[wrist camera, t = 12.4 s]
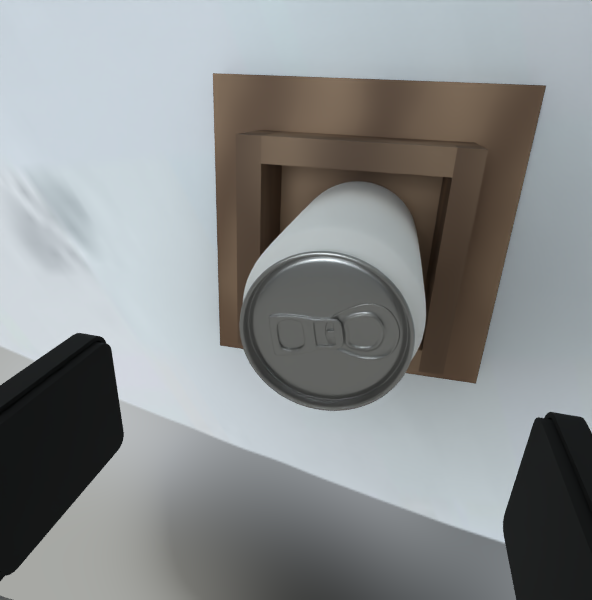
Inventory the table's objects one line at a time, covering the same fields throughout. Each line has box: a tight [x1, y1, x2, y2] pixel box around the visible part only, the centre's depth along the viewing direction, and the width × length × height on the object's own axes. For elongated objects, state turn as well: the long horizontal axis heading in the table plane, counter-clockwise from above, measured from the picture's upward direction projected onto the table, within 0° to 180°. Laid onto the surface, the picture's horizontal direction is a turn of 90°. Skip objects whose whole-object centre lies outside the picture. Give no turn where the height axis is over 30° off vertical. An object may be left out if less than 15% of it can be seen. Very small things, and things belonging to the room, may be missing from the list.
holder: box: [213, 73, 546, 383], centre depth 24 cm, size 16×16×5 cm
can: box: [240, 181, 426, 411], centre depth 20 cm, size 6×6×12 cm
